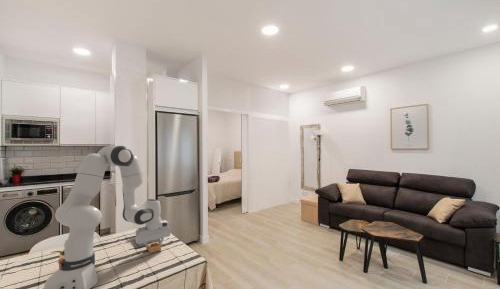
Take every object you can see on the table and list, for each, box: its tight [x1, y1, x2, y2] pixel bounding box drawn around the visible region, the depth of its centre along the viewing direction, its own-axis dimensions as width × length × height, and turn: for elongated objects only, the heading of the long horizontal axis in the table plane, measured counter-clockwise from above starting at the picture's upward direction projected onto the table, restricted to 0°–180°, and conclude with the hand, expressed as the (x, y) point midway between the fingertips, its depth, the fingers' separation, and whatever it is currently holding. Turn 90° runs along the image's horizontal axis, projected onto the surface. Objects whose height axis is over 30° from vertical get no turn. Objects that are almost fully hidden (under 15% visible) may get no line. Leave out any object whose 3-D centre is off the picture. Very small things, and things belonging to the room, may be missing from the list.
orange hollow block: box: [146, 242, 162, 254], centre depth 145 cm, size 6×8×3 cm
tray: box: [133, 236, 161, 248], centre depth 157 cm, size 13×13×2 cm
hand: (154, 246), depth 144 cm, fingers closed on orange hollow block, 6 cm apart
